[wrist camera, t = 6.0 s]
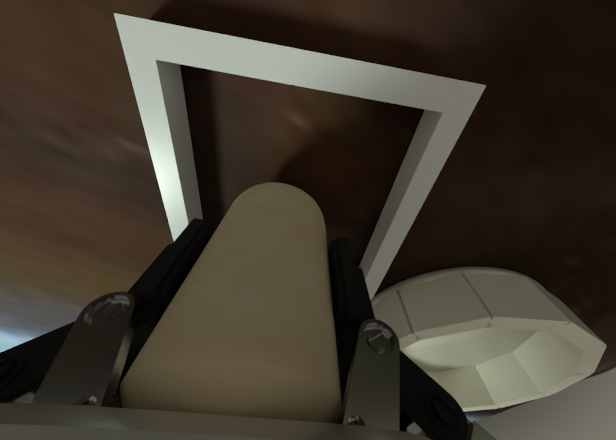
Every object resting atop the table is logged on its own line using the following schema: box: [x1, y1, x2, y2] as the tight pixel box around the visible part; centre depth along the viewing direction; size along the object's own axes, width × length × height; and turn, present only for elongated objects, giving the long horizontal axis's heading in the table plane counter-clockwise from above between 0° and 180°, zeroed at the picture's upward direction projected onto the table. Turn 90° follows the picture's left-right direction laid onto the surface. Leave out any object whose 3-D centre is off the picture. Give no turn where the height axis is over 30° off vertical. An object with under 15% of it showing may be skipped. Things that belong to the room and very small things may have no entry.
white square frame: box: [114, 13, 486, 300], centre depth 13 cm, size 14×14×2 cm
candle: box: [120, 182, 342, 424], centre depth 9 cm, size 6×6×10 cm
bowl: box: [371, 266, 607, 412], centre depth 20 cm, size 18×18×4 cm
